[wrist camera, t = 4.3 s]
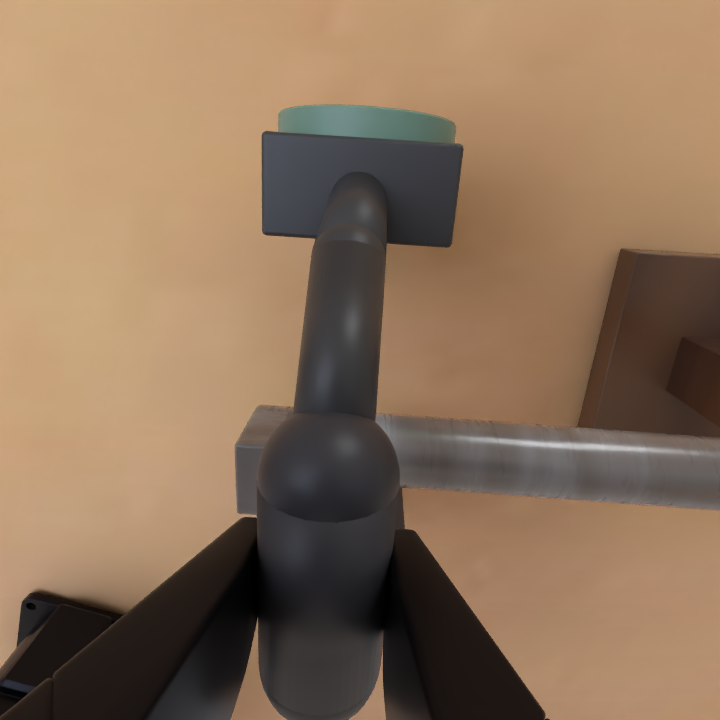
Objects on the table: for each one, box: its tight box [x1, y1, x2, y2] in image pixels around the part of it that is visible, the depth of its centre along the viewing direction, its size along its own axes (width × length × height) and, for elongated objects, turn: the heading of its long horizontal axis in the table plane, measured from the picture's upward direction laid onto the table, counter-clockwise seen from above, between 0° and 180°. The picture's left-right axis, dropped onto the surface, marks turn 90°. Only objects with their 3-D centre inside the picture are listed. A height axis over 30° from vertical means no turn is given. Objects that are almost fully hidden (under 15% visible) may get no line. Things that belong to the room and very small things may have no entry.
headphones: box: [256, 105, 463, 720], centre depth 11 cm, size 4×14×10 cm, turn 176°
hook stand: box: [235, 249, 720, 515], centre depth 14 cm, size 20×8×11 cm, turn 86°
